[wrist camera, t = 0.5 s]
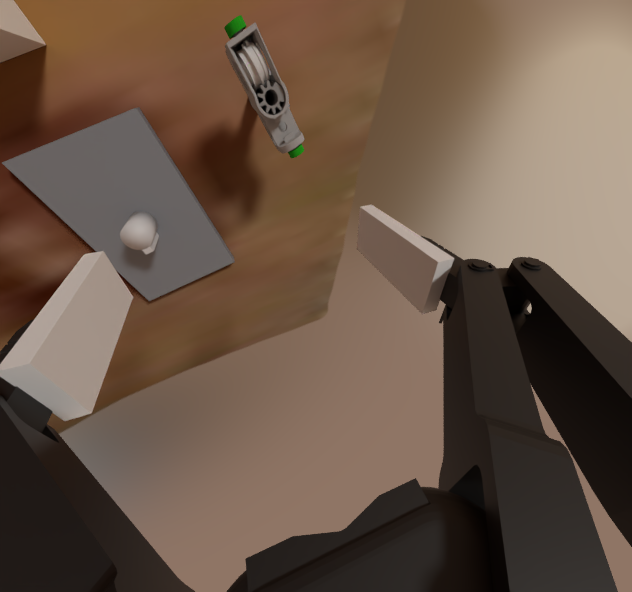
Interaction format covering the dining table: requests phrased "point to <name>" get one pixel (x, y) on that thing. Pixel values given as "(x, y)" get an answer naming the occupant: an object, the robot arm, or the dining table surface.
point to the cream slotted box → (16, 32)
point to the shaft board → (126, 202)
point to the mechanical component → (263, 85)
